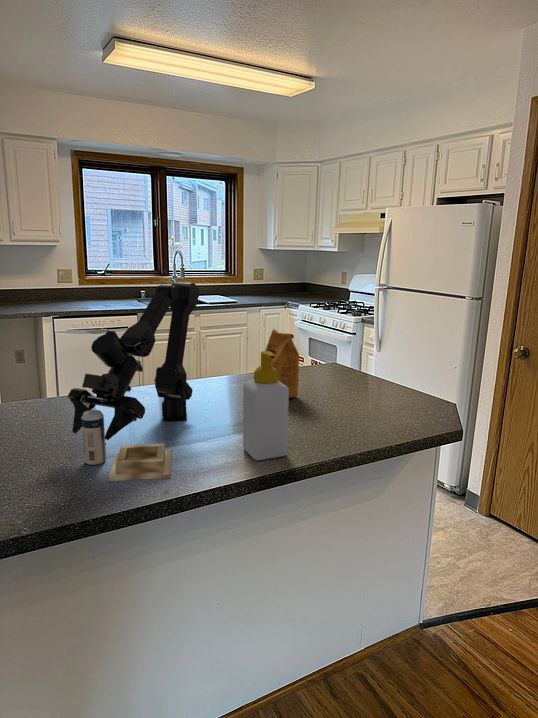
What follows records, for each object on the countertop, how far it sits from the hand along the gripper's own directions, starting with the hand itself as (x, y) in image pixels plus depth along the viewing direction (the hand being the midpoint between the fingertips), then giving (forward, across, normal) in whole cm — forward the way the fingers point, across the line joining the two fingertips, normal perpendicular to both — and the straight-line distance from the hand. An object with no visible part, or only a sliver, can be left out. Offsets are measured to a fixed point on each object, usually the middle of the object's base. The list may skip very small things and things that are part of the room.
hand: (89, 435), depth 114 cm
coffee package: (-43, +19, +53) cm, 71 cm away
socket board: (+2, +11, +7) cm, 14 cm away
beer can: (+4, 0, +6) cm, 7 cm away
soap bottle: (-11, +34, +21) cm, 41 cm away
